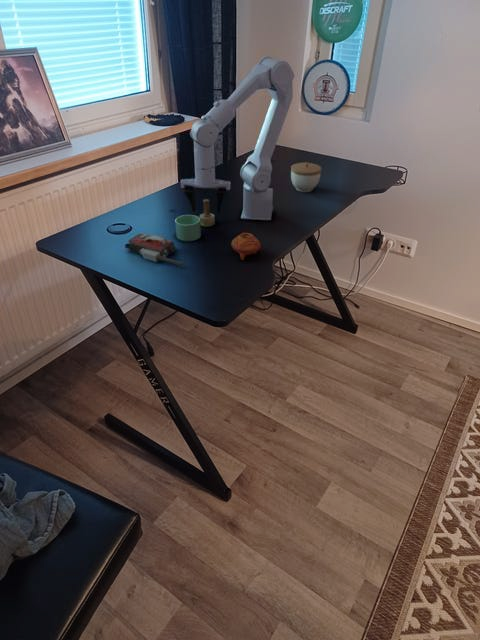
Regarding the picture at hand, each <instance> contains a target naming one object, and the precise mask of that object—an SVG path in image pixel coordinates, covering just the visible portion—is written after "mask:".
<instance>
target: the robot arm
mask: <svg viewBox="0 0 480 640" xmlns="http://www.w3.org/2000/svg"><path fill="white" fill-rule="evenodd" d="M294 79H295V73H294V71H293V69H292V66H291V65H290V63H289V62H288V61H286V60H280V59H276V58H273V57H272V56H266V57H263V58H262V59H260V60H259V62H258V63H256V64H255V65H254V66H253V68H252V70H251V71H250V73H248V75H247V76H246V77H245V78H244V80H243V81H242V82H241V83H240V84H239V85H238V86H237V87H236V89H235V90H234V91H233V92H232V93H231V94H230V95H229V97H228V98H227V99H219V101H217V100H215V102H213V107H212V108H211V109H210V110H209V111H208V112H207V113H206V114H205V115H203V114H202V116H201V118H200V119H199V120H196V121H195V122H194V123H193V124H192V126H191V129H190V131H189V135H190V137H191V139H192V140H193V158H194V174H195V175H194V176H195V177H194V178H183V179H182V178H181V180H180V189H184V190H183V192H184V195H185V196H186V199H187V200H188V202H189V204H190V207H191V210H192V212H193V213H194V212H196V211H197V201H196V189H217V191H216V200H217V207H216V210H217V211H216V212H217V214H220V213H221V210H222V204H223V200H224V197H225V196H226V193H227V191H230V190H231V180H223V179H222V180H221V179H217V178H216V166H215V165H216V162H215V161H216V160H215V159H216V158H215V143H216V142H217V140H218V135H219V133H220V132H222V131H223V130H224V129H225V127H226V126H228V124H229V123H230V122H231V121H233V120H234V118H235V117H236V111H237V109H238V108H240V106H242V104H243V103H244V102H246V101H247V100H248V99H249V98H250V97H251V96H252V95H253V94H254V93H256V92H257V91H258V90H265V89H267V90H268V92H269V94H270V97H271V100H270V101H271V102H270V104H269V106H268V110H267V112H266V116H265V118H264V121H263V124H262V127H261V130H260V133H259V136H258V139H257V141H256V145H255V148H254V150H253V153H251V154H250V155H249V156H248V157H247V159H246V161H245V163H244V164H243V165H242V166H241V168H240V172H239V175H240V178H241V180H242V181H243V193H242V194H243V198H242V200H243V201H242V202H243V203H242V204H243V205H242V207H243V208H242V212H241V215H240V219H241V220H255V221H272V216H273V215H272V214H273V212H274V206H273V199H274V189H273V188H271V187H270V184H271V181H272V177H271V176H272V172H273V165H272V162H271V161H272V160H271V159H272V156H273V154H274V151H275V149H276V145H277V143H278V141H279V138H280V134H281V132H282V129H283V126H284V123H285V121H286V118H287V115H288V113H289V110H290V107H291V105H292V102H293V97H294V93H293V92H294V91H293V81H294Z"/></svg>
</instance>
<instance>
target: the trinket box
mask: <svg viewBox="0 0 480 640" xmlns="http://www.w3.org/2000/svg"><path fill="white" fill-rule="evenodd" d="M322 171H323V169H322V166H321V165H318V164H316V163H312V162H307V161H305V162H297V163H294V164H292V165H291V166H290V180H291V183H292V186H293V187H294V188H295V190H296V191H298V192H300V193H310V192H312V191H314V189H315V188H316V187H317V186H318V184H319V183H320V180H321V175H322Z"/></svg>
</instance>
